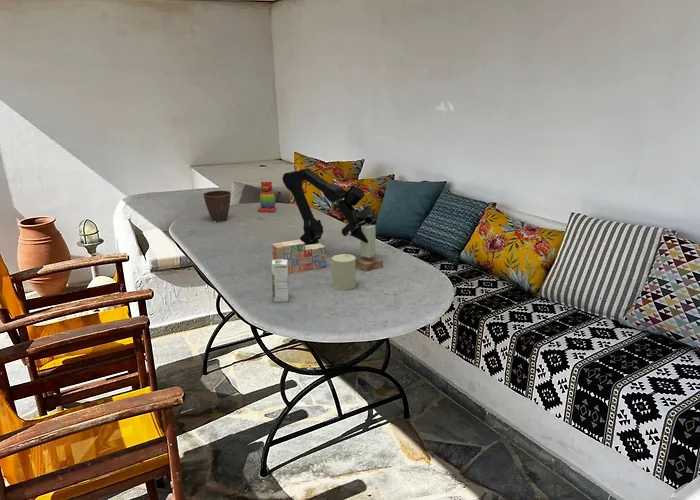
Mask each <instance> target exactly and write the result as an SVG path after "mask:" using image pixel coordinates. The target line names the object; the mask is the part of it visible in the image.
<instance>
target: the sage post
mask: <svg viewBox="0 0 700 500" xmlns="http://www.w3.org/2000/svg"><path fill="white" fill-rule="evenodd" d="M361 229H362V232H363V234H364V235H365V237H366V238H367V240H368V243H365V242H363V241H361V240H360V257H368V258H370V257H372V256H374V257H375V256H376V225H375V224H371V225H369V224H365V225H363V226H361Z"/></svg>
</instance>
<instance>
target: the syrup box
mask: <svg viewBox="0 0 700 500" xmlns="http://www.w3.org/2000/svg"><path fill="white" fill-rule="evenodd" d="M271 284H272V285H271V286H272V287H271V288H272V302H274V303H276V302H277V303H280V302H281V303H282V302H289V297H290V292H289V291H290V290H289V289H290V285H289V284H290V283H289V274H288V260H284V259H277V260H273V259H272V261H271Z"/></svg>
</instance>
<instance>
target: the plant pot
mask: <svg viewBox="0 0 700 500" xmlns="http://www.w3.org/2000/svg"><path fill="white" fill-rule="evenodd" d="M231 194H232V193H231V192H230V191H228V190H213V191H207V192H205V193H203V199H204V203H205V206H206V208H207V209H206V210H207V212H208V214H209V216H210V218H211V220H212V222H213V221H217V222H219V221H220V222H219V223H222V222H221V221H225V222H226V221H227V219H228V216H229V213H230V212H229V210H230V206H231V205H230V204H231ZM217 222H216V223H217Z"/></svg>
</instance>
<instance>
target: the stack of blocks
mask: <svg viewBox="0 0 700 500" xmlns="http://www.w3.org/2000/svg"><path fill="white" fill-rule="evenodd" d="M271 246H272V258H273V259H272V260H277V259H284V260H288V275H289V274H295V273H300V272H305V271H310V270H318V269H324V268H326V267H327V261H326V260H327V259H326V258H327V256H326V246H324V245H323V244H321V243H320V242H319V243H318V244H311V245H305V243H304V242H302V241H301V239H295V240H287V241H283V242H282V241H281V242H276V243H272V245H271Z"/></svg>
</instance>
